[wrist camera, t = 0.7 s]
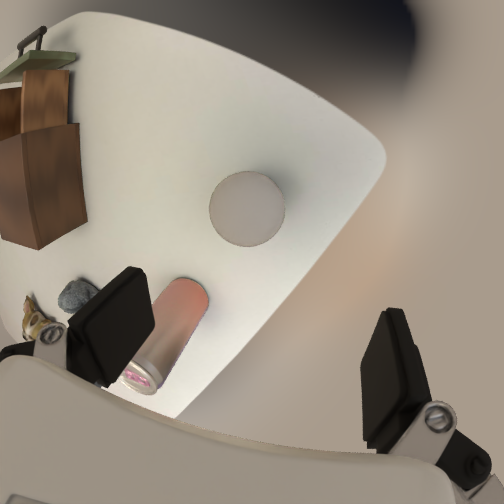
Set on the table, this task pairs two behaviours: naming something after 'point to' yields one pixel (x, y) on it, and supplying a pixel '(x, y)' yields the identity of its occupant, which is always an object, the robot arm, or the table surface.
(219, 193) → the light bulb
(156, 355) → the beverage can
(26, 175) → the cabinet
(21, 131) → the drawer
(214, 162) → the table surface
